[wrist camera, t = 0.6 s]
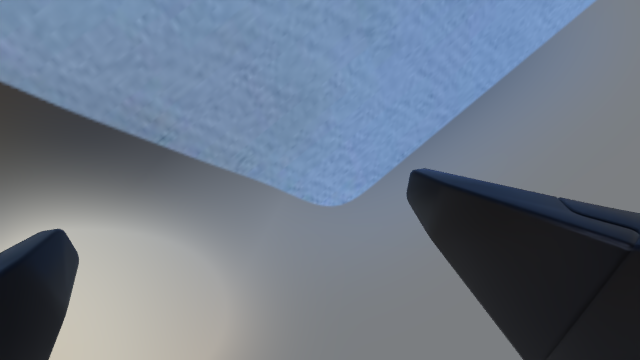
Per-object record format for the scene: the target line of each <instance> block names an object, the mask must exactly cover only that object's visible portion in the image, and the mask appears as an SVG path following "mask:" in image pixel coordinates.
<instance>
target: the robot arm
mask: <svg viewBox="0 0 640 360" xmlns="http://www.w3.org/2000/svg"><path fill="white" fill-rule="evenodd" d="M407 199H408V202H409V204H410V205H411V207H412V209H413V210H414V212H415V214H416V215H417V217H418V219H419V221H420V222H421V224H422V226H423V227H424V229H425V231H426V232H427V234H428V235H429V237H430V238H431V240H432V241H433V242H434V244H435V245H436V246H437V248H438V249H439V250H440V252H441V253H442V254H443V255H444V257H445V258H446V259H447V261H448V262H449V263H450V265H451V266H452V267H453V269H454V270H455V271H456V272H457V274H458V275H459V276H460V278H461V279H462V280H463V282H464V283H465V284H466V286H467V287H468V288H469V289H470V291H471V292H472V293H473V294H474V296H475V297H476V299H477V300H478V301H479V302H480V304H481V305H482V306H483V308H484V309H485V310H486V312H487V313H488V314H489V316H490V317H491V318H492V320H493V321H494V322H495V323H496V325H497V326H498V327H499V329H500V330H501V331H502V332H503V334H504V335H505V336H506V338H507V339H508V340H509V342H510V343H511V344H512V346H513V347H514V348H515V349H516V351H517V352H518V353H519V355H520V356H521V357H522V359H523V360H640V213H635V212H629V211H624V210H619V209H614V208H608V207H603V206H599V205H594V204H589V203H584V202H579V201H575V200H570V199H565V198H556V197H554V196H549V195H545V194H540V193H536V192H531V191H526V190H522V189H517V188H513V187H508V186H503V185H499V184H494V183H490V182H485V181H480V180H476V179H471V178H467V177H463V176H458V175H453V174H449V173H444V172H439V171H435V170H430V169H425V168H423V169H417V170H413V171H412V172H411V173H410V177H409V183H408V188H407ZM78 264H79V257H78V254H77V251H76V249H75V248H74V246H73V245H72V243H71V241H70V240H69V238H68V236H67V235H66V233H65V232H64V231H63V230H61V229H54V230H47V231H42V232H39V233H37V234H35V235H33V236H31V237H29V238H27V239H26V240H24V241H22V242H20V243H18V244H16V245H14V246H12V247H10V248H9V249H7V250H5V251H3V252H1V253H0V360H48V359H49V357H50V354H51V352H52V349H53V347H54V344H55V342H56V339H57V336H58V334H59V331H60V329H61V326H62V324H63V321H64V318H65V315H66V312H67V308H68V305H69V301H70V297H71V293H72V288H73V284H74V280H75V276H76V272H77V268H78Z"/></svg>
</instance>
